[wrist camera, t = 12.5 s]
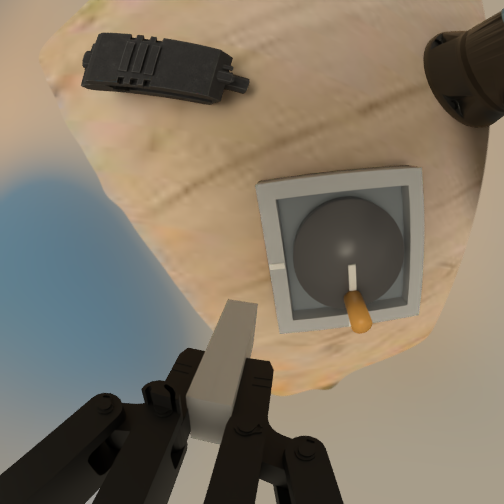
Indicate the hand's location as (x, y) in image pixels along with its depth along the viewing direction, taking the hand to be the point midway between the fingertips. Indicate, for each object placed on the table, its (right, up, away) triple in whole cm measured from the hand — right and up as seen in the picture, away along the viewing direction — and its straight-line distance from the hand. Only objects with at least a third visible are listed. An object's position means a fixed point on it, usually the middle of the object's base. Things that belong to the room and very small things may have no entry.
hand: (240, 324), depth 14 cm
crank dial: (+13, +4, +20) cm, 24 cm away
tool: (-12, +28, +20) cm, 36 cm away
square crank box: (+13, +5, +23) cm, 26 cm away
